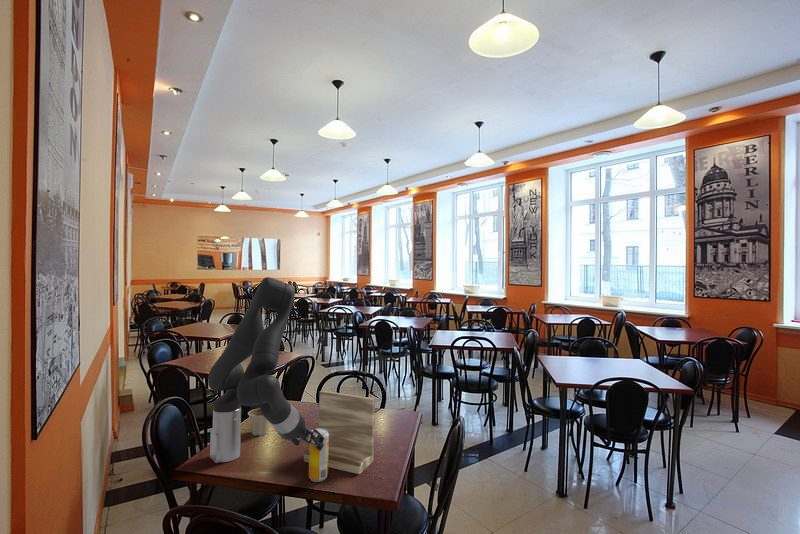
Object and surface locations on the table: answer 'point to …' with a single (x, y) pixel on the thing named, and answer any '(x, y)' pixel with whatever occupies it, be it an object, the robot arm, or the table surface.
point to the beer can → (319, 459)
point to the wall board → (347, 430)
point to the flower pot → (258, 422)
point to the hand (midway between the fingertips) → (309, 445)
